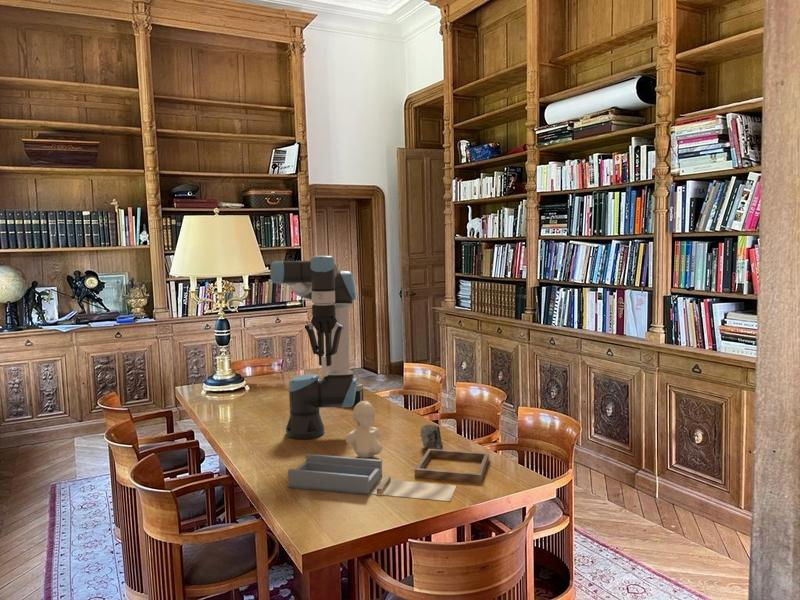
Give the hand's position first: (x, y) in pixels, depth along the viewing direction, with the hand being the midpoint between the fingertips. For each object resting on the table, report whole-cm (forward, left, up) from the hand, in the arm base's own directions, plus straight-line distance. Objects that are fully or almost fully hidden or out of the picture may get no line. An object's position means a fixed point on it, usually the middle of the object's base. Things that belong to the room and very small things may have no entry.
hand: (325, 375), depth 202 cm
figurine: (+8, +17, -33) cm, 38 cm away
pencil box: (+6, -7, -33) cm, 34 cm away
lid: (+31, -8, -33) cm, 46 cm away
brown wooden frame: (+40, +13, -33) cm, 53 cm away
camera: (-22, +85, -33) cm, 94 cm away
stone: (+29, +31, -33) cm, 53 cm away
